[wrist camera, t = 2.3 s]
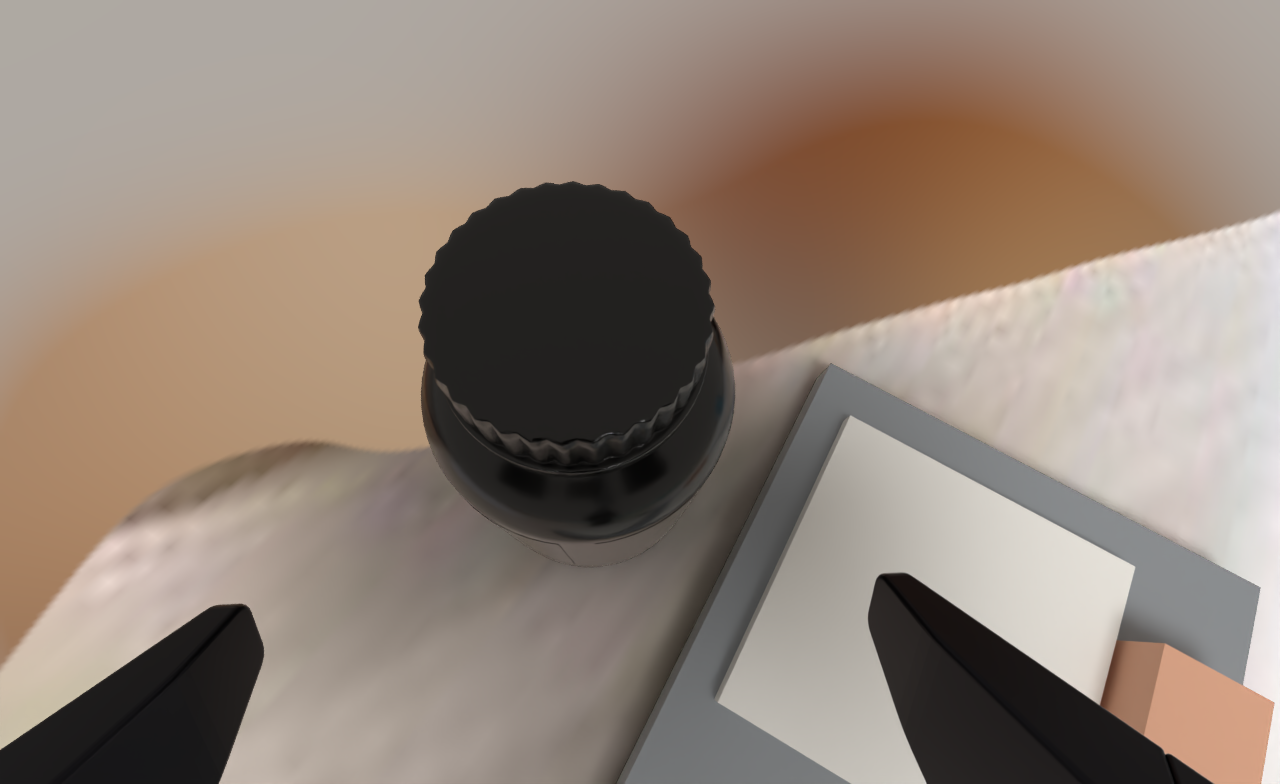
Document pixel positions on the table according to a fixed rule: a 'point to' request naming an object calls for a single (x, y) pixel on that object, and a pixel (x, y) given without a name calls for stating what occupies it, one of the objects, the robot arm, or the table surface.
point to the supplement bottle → (574, 370)
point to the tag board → (965, 576)
